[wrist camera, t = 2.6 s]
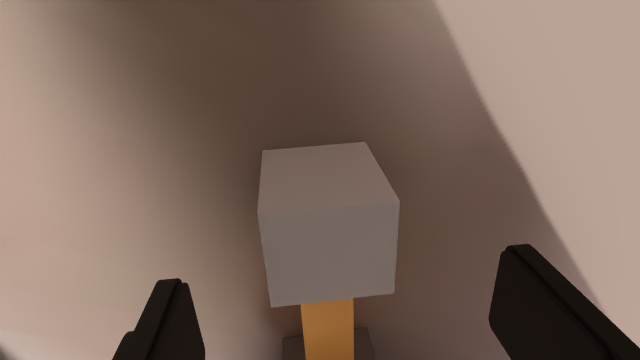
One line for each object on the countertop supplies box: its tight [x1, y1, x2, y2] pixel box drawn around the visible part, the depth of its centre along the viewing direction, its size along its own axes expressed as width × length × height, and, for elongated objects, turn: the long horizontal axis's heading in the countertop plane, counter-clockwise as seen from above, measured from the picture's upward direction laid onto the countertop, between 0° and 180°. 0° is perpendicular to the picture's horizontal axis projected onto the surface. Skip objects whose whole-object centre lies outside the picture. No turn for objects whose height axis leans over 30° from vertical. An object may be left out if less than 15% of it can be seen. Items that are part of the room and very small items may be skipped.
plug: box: [257, 142, 400, 360], centre depth 15 cm, size 14×4×5 cm, turn 3°
